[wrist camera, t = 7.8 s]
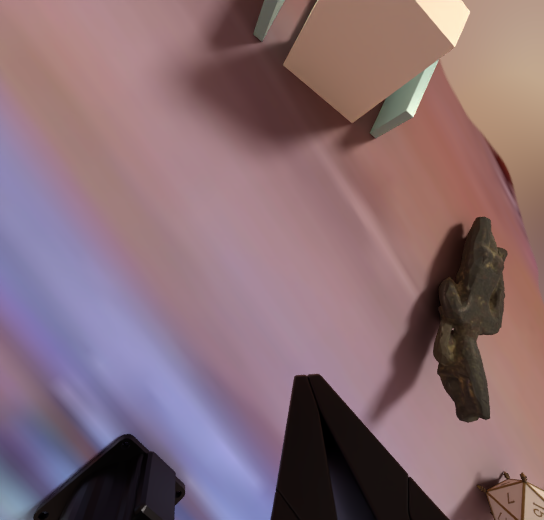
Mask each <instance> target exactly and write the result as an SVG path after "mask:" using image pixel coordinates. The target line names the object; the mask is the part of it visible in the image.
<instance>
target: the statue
mask: <svg viewBox="0 0 544 520" xmlns="http://www.w3.org/2000/svg"><path fill="white" fill-rule="evenodd" d="M506 256H507V251H506V250H505V249H503V248H499V247H497V246H496V242H495V239H494V237H493V235H492V232H491V220H490V219H488V218H486V217H478V218H476V219H475V221H474V223H473V225H472V227H471V229H470V231H469V233H468V236H467V239H466V242H465V245H464V249H463V256H462V260H461V265H460V269H459V271H458V273H457V276H456V283H455V282H454V281H453V279H452V278H450V277H448V278H446V279H445V280H444V281H443V282H442V283H441V284H440V286H439V300H440V304H441V306H439V308H438V309H439V312H440V320H441V321H440V325H439V329H438V333H437V336H436V339H435V342H434V348H433V355H434V357H435V359H436V360H437V361H438V362H439V365H438V369H437V374H438V375H439V376H440V378H441V381H442V384H443V386H444V389H445V390H446V392H447V393H448V395H449V396H450V397H451V398H452V400H453V401H454V402H455V406H456V415H457V417H458V418H459V420H461V421H464V422H472V421H476V420H478V418H482V419H485V420H487V419H489V418H490V406H489V395H488V388H487V380H486V376H485V372H484V368H483V363H482V359H481V356H480V352H479V349H478V347H477V342H476V340H477V338H478V335H483V334H484V335H493V334H496V333H498V331H499V329H500V328H501V324H502V316H503V311H504V298H505V293H504V281H503V274H502V271H503V269H504V261H505V258H506ZM452 328H454V330H452Z"/></svg>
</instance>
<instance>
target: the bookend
mask: <svg viewBox="0 0 544 520" xmlns="http://www.w3.org/2000/svg"><path fill="white" fill-rule="evenodd" d="M469 14H470V11H469V10H468V9H467V7H466V6H465V5H464V3H463V2H462V1H461V0H317V2H316V4H315V5H314V7H313V9H312V11H311V13H310V15H309V17H308V19H307V20H306V22H305V24H304V26H303V28H302V30H301V32H300V34H299V35H298V37H297V39H296V41H295V43H294V45H293V47H292V49H291V50H290V52H289V54H288V56H287V58H286V60H285V62H284V64H283V66H285V67H286V68H287V69H288V70H289V71H291V72H292V73H293V74H294V75H295V76H296V77H298V78H299V79H300V80H301V81H302V82H304V83H305V84H306V85H307V86H308V87H309V88H311V89H312V90H313V91H314V92H315V93H317V94H318V95H319V96H320V97H321V98H323V99H324V100H325V101H326V102H327V103H328V104H330V105H331V106H332V107H333V108H334V109H336V110H337V111H338V112H339V113H340V114H342V115H343V116H344V117H345V118H346V119H347V120H349V121H350V122H351V123H353V122H355V121H356V120H357V119H359V118H360V117H361V116H363V115H364V114H365V113H367V112H368V111H369V110H371V109H372V108H373V107H375V106H376V105H378V104H379V103H380V102H382V101H383V100H384V99H386V98H387V97H388V96H390V95H391V94H392V93H394V92H395V91H396V90H398V89H399V88H401V87H402V86H403V85H405V84H406V83H407V82H409V81H410V80H411V79H413V78H414V77H415V76H417V75H418V74H419V73H421V72H422V71H424V70H425V69H426V68H428V67H429V66H430V65H432V64H433V63H434V62H436V61H437V60H438V59H440V58H441V57H442V56H444V55H445V54H446V53H448V52H449V51H451V50H452V49H453V48H455V46H456V44H457V41H458V39H459V37H460V34H461V32H462V30H463V28H464V25H465V23H466V21H467V19H468V16H469Z"/></svg>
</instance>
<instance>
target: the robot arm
mask: <svg viewBox="0 0 544 520" xmlns="http://www.w3.org/2000/svg"><path fill="white" fill-rule="evenodd" d="M124 442H128V443H129V444H128V445H123V443H124ZM177 491H180V492H178V493H175V492H177ZM184 495H185V485H184V484H183V483H182V482H181V481H180V480H179V479H178V478H177V477H176V473H175V472H174V471H173V470H172V469H171V468H170V467H169V466H168V465H167V464H166V463H165V462H164V461H163V460H162V459H161V458H160V457H159V456H158V455H157V454H156V453H154V452H152V451H149V450H148V449H147V448H145V447H144V446H143V445H142V444H141V443H140V442H139V441H138V440H137V439H136V438H135V437H134V436H133V435H131V434H126V435H124V436H122V437H121V438H119V439H118V440H117V441H116V442H115V443H113V444H112V445H111V446H110V447H109V448H108V449H106V450H105V451H104V452H103V453H102V454H100V455H99V456H98V457H97V458H96V459H94V460H93V461H92V462H91V463H90V464H89V465H87V466H86V467H85V468H84V469H83V470H81V471H80V472H79V473H78V474H77V475H75V476H74V477H73V478H72V479H71V480H70V481H68V482H67V483H66V484H65V485H64V486H62V487H61V488H60V489H59V490H58V491H56V492H55V493H54V494H53V495H52V496H51V497H49V498H48V499H47V500H46V501H45V502H43V503H42V504H41V505H40V506H39V507H38V509H37V511H36V512H35V514H34V517H33V519H34V520H174V511H175V505H176V504H177V503H178V502H179V501H180V500H181V499H182V498H183V497H184ZM45 511H46V512H48V513H43V512H45ZM271 520H449V519H448V518H447V517H446V516H445V514H444V513H443V512H442V511H441V510H440V509H439V508H438V507H437V506H436V505H435V504H434V502H433V501H432V500H431V499H430V498H429V497H428V496H427V495H426V494H425V493H424V492H423V490H422V489H421V488H420V487H419V486H418V485H417V484H416V482H415V481H414V480H413V479H412V478H411V477H408V474H407V472H406V471H405V470H404V469H403V468H402V467H401V466H400V464H399V463H398V462H397V461H396V460H395V459H394V458H393V457H392V455H391V454H390V453H389V452H388V451H387V450H386V449H385V447H384V446H383V445H382V444H381V443H380V442H379V441H378V440H377V438H376V437H375V436H374V435H373V434H372V433H371V432H370V430H369V429H368V428H367V427H366V426H365V425H364V424H363V423H362V421H361V420H360V419H359V418H358V417H357V416H356V415H355V414H354V412H353V411H352V410H351V409H350V408H349V407H348V406H347V404H346V403H345V402H344V401H343V400H342V399H341V398H340V397H339V395H338V394H337V393H336V392H335V391H334V390H333V389H332V387H331V386H330V385H329V384H328V383H327V382H326V381H325V380H324V378H323V377H322V376H321V375H320V374H309V375H307V376H306V375H296V376H295V377H294V381H293V388H292V394H291V400H290V406H289V412H288V418H287V424H286V430H285V436H284V443H283V449H282V455H281V461H280V467H279V473H278V479H277V485H276V492H275V497H274V503H273V509H272V515H271Z"/></svg>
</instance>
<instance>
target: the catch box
mask: <svg viewBox="0 0 544 520" xmlns="http://www.w3.org/2000/svg"><path fill="white" fill-rule="evenodd" d="M284 1H285V0H264V3H263V6H262V9H261V12H260V15H259V18H258V21H257V24H256V27H255V30H254V33H253V35H255V36H256V37H257V38H258V39H259V40H261V41H263V39H264V37H265V36H266V34H267V32H268V30H269V28H270V26H271V25H272V23H273V21H274V19H275V17H276V16H277V14H278V12H279V10H280V8H281V6H282V5H283V3H284ZM438 60H439V59H438ZM438 60H437V61H436V62H434V63H433V64H432V65H430V66H429V67H428V68H426V69H425V70H424V71H422V72H421V73H419V74H418V75H417V76H415V77H414V78H413V79H411V80H410V81H409V82H407V83H406V84H405V85H403V86H402V87H401V88H399V89H398V90H396V91H395V92H394V93H392V94H391V95H390V96H388V97H387V98H386V99H385V101H384V103H383V106H382V108H381V110H380V112H379V114H378V116H377V119H376V121H375V123H374V125H373V127H372V129H371V132H370V134H371V135H372V136H374V137H375V138H378V137H379V136H381V135H383V134H385V133H386V132H388V131H390V130H392V129H393V128H395V127H397V126H399V125H400V124H402V123H404V122H406V121H407V120H409V119H411V118H413V117H414V114H415V112H416V110H417V108H418V105H419V103H420V101H421V98H422V96H423V94H424V92H425V89H426V87H427V85H428V83H429V80H430V78H431V76H432V74H433V71H434V69H435V67H436V65H437V62H438Z"/></svg>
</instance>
